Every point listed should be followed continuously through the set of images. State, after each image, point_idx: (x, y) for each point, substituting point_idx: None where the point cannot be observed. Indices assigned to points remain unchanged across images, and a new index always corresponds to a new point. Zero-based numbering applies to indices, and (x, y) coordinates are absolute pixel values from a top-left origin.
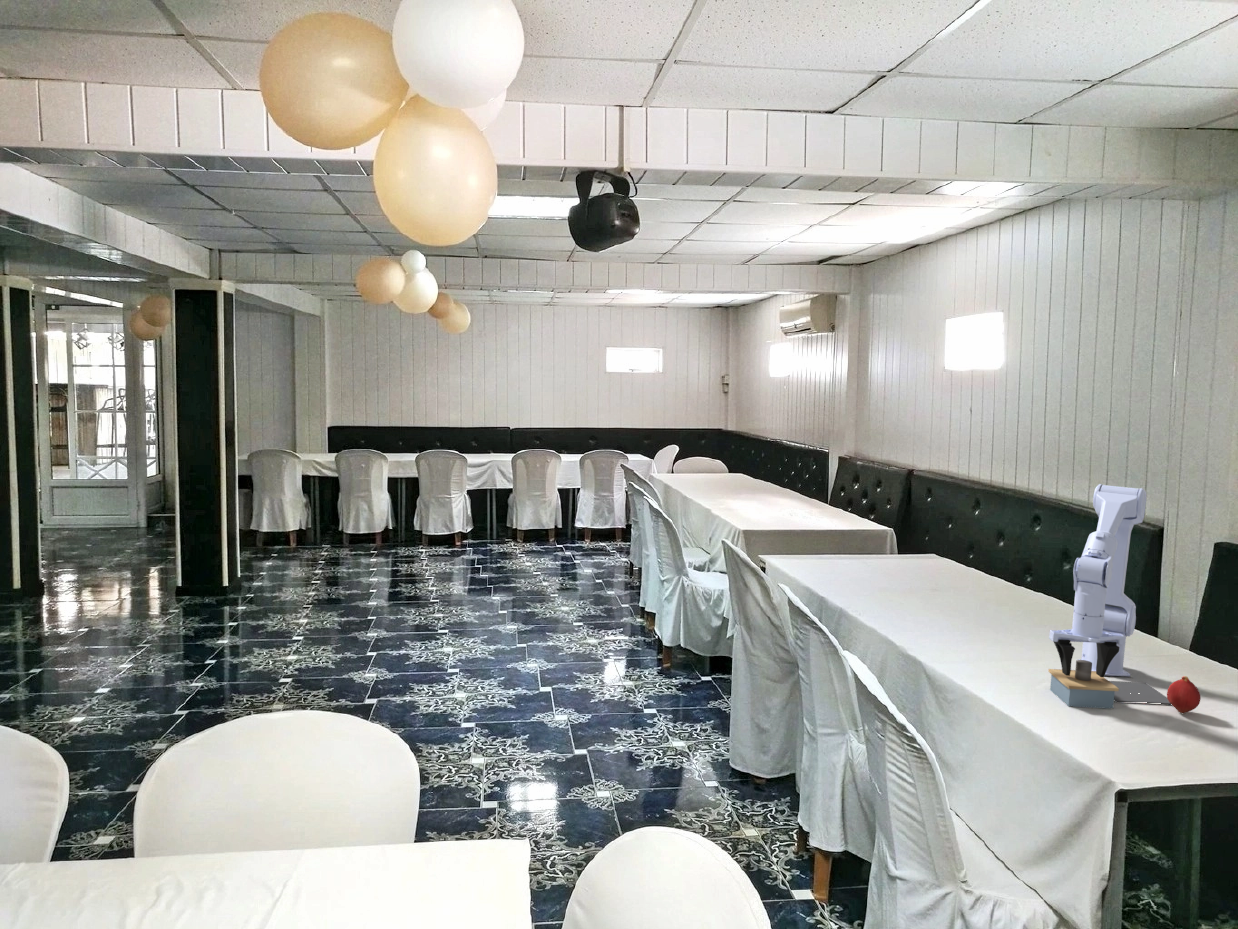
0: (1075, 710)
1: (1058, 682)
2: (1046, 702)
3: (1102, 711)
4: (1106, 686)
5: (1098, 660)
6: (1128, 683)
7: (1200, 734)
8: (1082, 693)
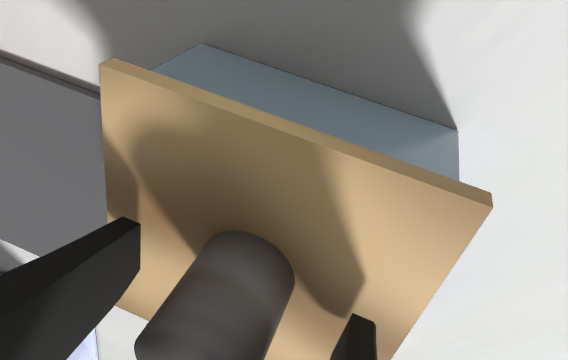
0: (468, 67)
1: None
2: (548, 213)
3: (291, 17)
4: (170, 118)
5: (66, 344)
6: (15, 233)
7: None
8: (363, 145)
